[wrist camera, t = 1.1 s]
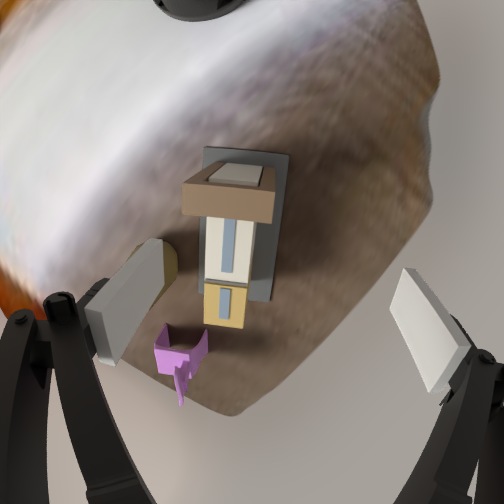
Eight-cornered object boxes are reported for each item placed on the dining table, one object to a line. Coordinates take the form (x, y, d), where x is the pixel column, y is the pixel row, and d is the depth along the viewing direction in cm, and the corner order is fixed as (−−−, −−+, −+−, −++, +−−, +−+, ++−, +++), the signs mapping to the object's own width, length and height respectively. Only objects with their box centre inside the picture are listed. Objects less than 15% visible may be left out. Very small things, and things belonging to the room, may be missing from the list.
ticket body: (214, 161, 40) (182, 183, 26) (275, 167, 40) (275, 192, 26) (210, 240, 45) (182, 294, 31) (265, 246, 45) (260, 304, 31)
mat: (204, 147, 40) (203, 147, 40) (289, 155, 40) (289, 155, 39) (198, 292, 50) (198, 293, 50) (269, 301, 50) (269, 302, 49)
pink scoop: (162, 318, 53) (133, 374, 40) (207, 324, 53) (188, 386, 39) (166, 349, 57) (143, 405, 43) (208, 356, 56) (192, 415, 43)
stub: (221, 243, 45) (204, 284, 34) (253, 247, 45) (246, 289, 34) (219, 277, 48) (203, 324, 37) (250, 281, 48) (242, 329, 37)
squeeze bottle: (133, 261, 49) (80, 323, 32) (150, 224, 45) (91, 279, 29) (172, 285, 50) (132, 356, 33) (192, 249, 47) (152, 317, 30)
